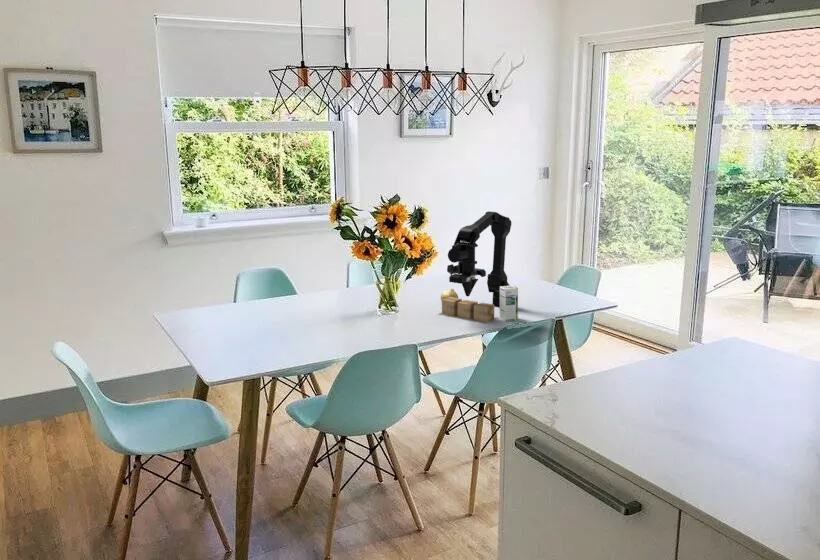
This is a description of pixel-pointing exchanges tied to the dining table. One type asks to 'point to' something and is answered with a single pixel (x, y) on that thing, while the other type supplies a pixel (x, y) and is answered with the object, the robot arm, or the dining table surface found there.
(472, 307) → the block plain
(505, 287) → the syrup box
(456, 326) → the dining table surface
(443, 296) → the onion
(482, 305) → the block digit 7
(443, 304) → the tan cube
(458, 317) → the mat
